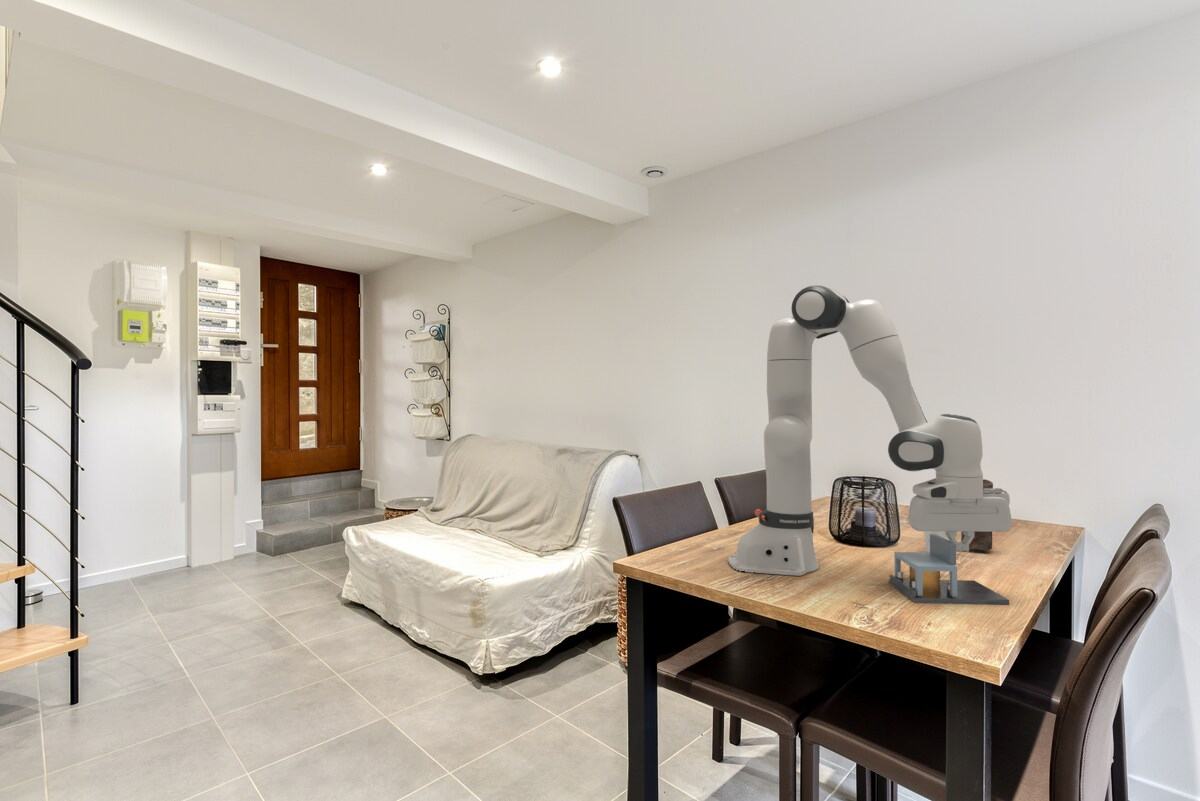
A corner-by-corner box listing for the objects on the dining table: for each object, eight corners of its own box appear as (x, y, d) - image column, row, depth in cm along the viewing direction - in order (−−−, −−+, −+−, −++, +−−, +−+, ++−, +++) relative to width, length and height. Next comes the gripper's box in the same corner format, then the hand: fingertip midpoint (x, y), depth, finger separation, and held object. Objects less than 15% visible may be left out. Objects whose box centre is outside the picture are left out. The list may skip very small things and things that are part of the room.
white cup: (961, 558, 157) (961, 521, 157) (929, 556, 158) (928, 520, 158) (949, 550, 164) (949, 515, 164) (919, 549, 166) (919, 514, 166)
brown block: (940, 591, 127) (940, 571, 127) (918, 591, 127) (918, 570, 127) (930, 585, 131) (930, 565, 131) (909, 584, 132) (909, 565, 131)
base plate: (914, 602, 123) (914, 586, 123) (888, 583, 136) (888, 568, 136) (1009, 604, 121) (1009, 587, 121) (974, 584, 134) (974, 569, 134)
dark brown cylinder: (992, 549, 165) (992, 478, 165) (993, 555, 159) (993, 482, 159) (961, 546, 170) (960, 477, 170) (960, 551, 163) (960, 480, 163)
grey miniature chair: (917, 595, 124) (917, 545, 124) (894, 578, 135) (894, 532, 135) (959, 596, 123) (959, 545, 123) (932, 579, 134) (932, 532, 134)
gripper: (1000, 486, 131) (1001, 547, 131) (905, 486, 132) (906, 547, 132) (1018, 490, 124) (1019, 555, 124) (918, 490, 126) (919, 554, 126)
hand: (960, 551), depth 128 cm, fingers closed
